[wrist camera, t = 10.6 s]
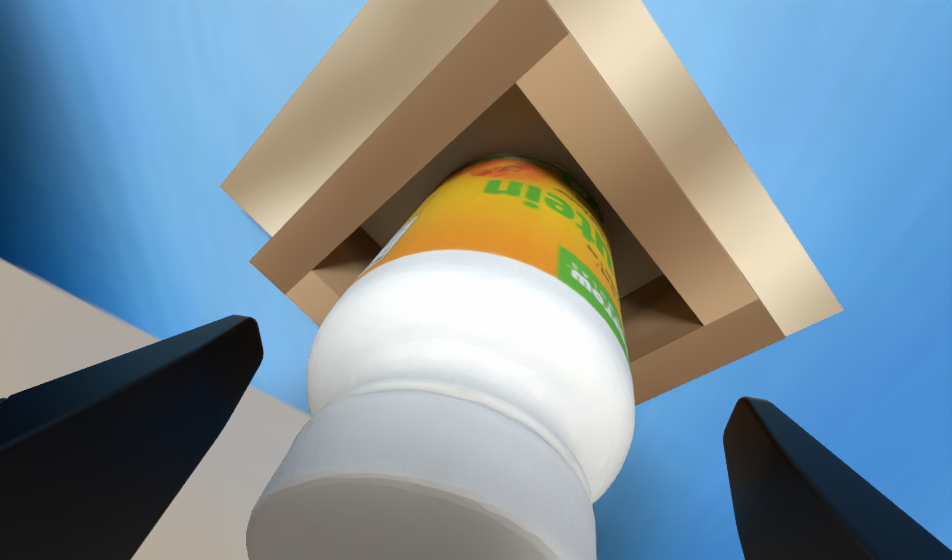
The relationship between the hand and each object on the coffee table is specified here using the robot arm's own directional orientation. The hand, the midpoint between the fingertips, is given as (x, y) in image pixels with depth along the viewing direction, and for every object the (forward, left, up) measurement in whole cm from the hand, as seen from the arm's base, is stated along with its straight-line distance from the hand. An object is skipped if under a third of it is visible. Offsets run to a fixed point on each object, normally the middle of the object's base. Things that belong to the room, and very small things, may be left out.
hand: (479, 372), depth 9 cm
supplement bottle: (0, 0, -6) cm, 6 cm away
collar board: (0, 0, -7) cm, 7 cm away
